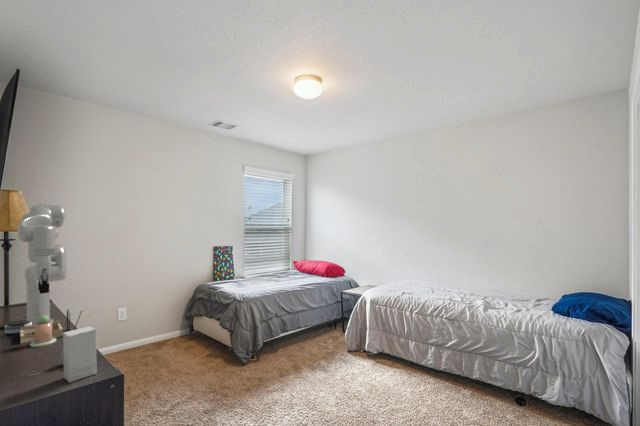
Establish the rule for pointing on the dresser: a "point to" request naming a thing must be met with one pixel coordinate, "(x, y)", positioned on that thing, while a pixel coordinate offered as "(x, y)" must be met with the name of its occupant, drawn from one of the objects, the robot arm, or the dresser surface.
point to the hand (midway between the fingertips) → (43, 291)
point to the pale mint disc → (42, 343)
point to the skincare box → (79, 353)
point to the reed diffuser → (61, 358)
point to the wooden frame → (31, 329)
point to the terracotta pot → (43, 330)
